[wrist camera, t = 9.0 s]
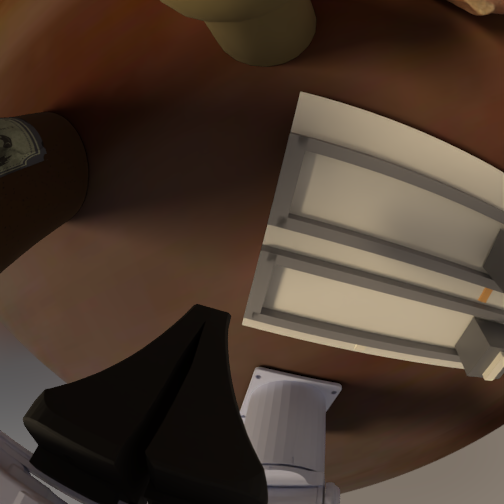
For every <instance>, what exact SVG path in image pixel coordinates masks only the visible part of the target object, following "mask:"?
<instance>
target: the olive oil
mask: <svg viewBox="0 0 504 504" xmlns="http://www.w3.org/2000/svg"><path fill="white" fill-rule="evenodd" d="M87 187H88V162H87V156H86V152H85V149H84V146H83V143H82V141H81V138H80V136H79V135H78V133H77V131H76V130H75V128H74V127H73V126H72V125H71V123H70V122H69V121H67V120H66V119H65V118H64V117H62V116H60V115H58V114H56V113H51V112H41V113H34V114H28V115H22V116H16V117H9V118H0V273H1V272H2V271H3V270H5V269H6V268H7V267H8V266H9V265H10V264H12V263H13V262H14V261H15V260H16V259H18V258H19V257H20V256H21V255H22V254H24V253H25V252H26V251H27V250H29V249H30V248H31V247H32V246H34V245H35V244H36V243H38V242H39V241H40V240H42V239H43V238H44V237H46V236H47V235H48V234H50V233H51V232H53V231H54V230H55V229H57V228H58V227H60V226H61V225H62V224H64V223H65V222H67V221H68V220H69V219H71V218H72V217H73V216H74V215H75V214H76V213H77V212H78V211H79V209H80V208H81V206H82V204H83V202H84V199H85V196H86V192H87Z"/></svg>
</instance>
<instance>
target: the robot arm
mask: <svg viewBox="0 0 504 504" xmlns="http://www.w3.org/2000/svg"><path fill="white" fill-rule="evenodd" d="M230 319H231V315H230V314H229V313H227V312H224V311H220V310H217V309H213V308H210V307H206V306H203V305H199V304H196V305H194V306H193V307H192V308H191V309H190V310H189V311H188V312H187V313H186V314H185V315H184V316H183V317H182V318H180V319H179V320H178V321H177V322H176V323H175V324H174V325H173V326H171V327H170V328H169V329H168V330H167V331H165V332H164V333H163V334H162V335H160V336H159V337H158V338H156V339H155V340H154V341H152V342H151V343H150V344H148V345H147V346H145V347H144V348H143V349H141V350H139V351H138V352H136V353H135V354H133V355H132V356H130V357H128V358H126V359H125V360H123V361H121V362H119V363H117V364H115V365H113V366H111V367H109V368H107V369H105V370H103V371H101V372H99V373H96V374H94V375H91V376H88V377H86V378H83V379H81V380H78V381H75V382H72V383H69V384H65V385H61V386H58V387H54V388H50V389H46V390H44V391H43V392H42V394H41V395H40V396H39V397H38V398H37V399H36V400H35V402H34V403H33V404H32V406H31V407H30V409H29V410H28V412H27V413H26V414H25V416H24V417H23V422H24V425H25V427H26V428H27V430H28V431H29V433H30V434H31V435H32V437H33V438H34V439H35V441H36V442H37V443H38V447H37V449H36V451H35V452H34V454H33V453H31V452H30V451H28V450H27V449H25V448H24V447H22V446H21V445H20V444H18V443H17V442H15V441H14V440H12V439H11V438H10V437H9V436H7V435H6V434H4V433H3V432H2V431H1V430H0V504H67V503H66V502H65V501H63V500H62V499H60V498H59V497H58V496H57V495H55V494H54V493H53V492H52V491H51V490H50V489H49V488H48V487H46V486H45V485H43V484H42V483H41V482H39V481H38V480H36V479H35V478H34V477H32V476H31V475H30V473H32V474H33V475H35V476H37V477H38V478H40V479H41V480H43V481H44V482H46V483H48V484H49V485H51V486H52V487H54V488H56V489H57V490H59V491H61V492H63V493H64V494H66V495H68V496H70V497H71V498H73V499H75V500H77V501H79V502H81V503H83V504H147V501H148V504H340V488H338V487H337V486H336V485H335V484H334V483H333V482H329V483H326V492H325V476H324V466H325V432H326V411H327V410H328V409H329V407H330V406H331V404H332V403H333V401H334V400H335V399H336V397H337V396H338V394H339V393H340V391H341V390H342V386H341V384H339V383H334V382H329V381H323V380H318V379H313V378H308V377H303V376H299V375H294V374H289V373H285V372H280V371H276V370H272V369H268V368H263V367H257V368H255V370H254V373H253V376H252V379H251V381H250V384H249V387H248V390H247V393H246V396H245V398H244V401H243V404H242V407H241V409H240V412H239V408H238V405H237V401H236V397H235V393H234V389H233V384H232V379H231V373H230V366H229V355H228V328H229V323H230ZM258 375H260V376H258ZM29 472H30V473H29Z"/></svg>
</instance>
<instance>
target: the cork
mask: <svg viewBox="0 0 504 504" xmlns="http://www.w3.org/2000/svg"><path fill="white" fill-rule="evenodd" d="M160 1H161V2H162V3H164V4H166V5H167V6H169V7H171V8H172V9H174V10H176V11H177V12H179V13H181V14H182V15H184V16H186V17H190V18H194V19H198V20H202V21H204V22H205V23H206V25H207V26H208V28H209V29H210V31H211V32H212V34H213V36H214V37H215V39H216V40H217V42H218V43H219V45H220V46H221V47H222V49H223V50H224V52H226V53H227V54H228V55H230V56H231V57H232V58H234V59H235V60H237V61H240V62H243V63H245V64H248V65H251V66H264V67H269V66H274V65H279V64H284V63H286V62H288V61H290V60H292V59H294V58H296V57H298V56H299V55H300V54H301V53H302V52H303V51H304V50H305V49H306V48H307V47H308V46H309V44H310V42H311V40H312V38H313V36H314V34H315V29H316V16H315V12H314V9H313V6H312V3H311V0H160Z"/></svg>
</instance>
